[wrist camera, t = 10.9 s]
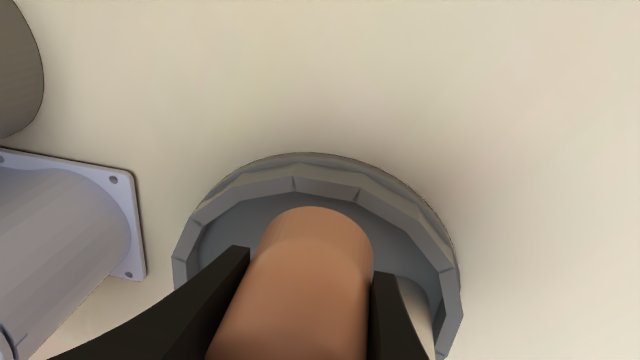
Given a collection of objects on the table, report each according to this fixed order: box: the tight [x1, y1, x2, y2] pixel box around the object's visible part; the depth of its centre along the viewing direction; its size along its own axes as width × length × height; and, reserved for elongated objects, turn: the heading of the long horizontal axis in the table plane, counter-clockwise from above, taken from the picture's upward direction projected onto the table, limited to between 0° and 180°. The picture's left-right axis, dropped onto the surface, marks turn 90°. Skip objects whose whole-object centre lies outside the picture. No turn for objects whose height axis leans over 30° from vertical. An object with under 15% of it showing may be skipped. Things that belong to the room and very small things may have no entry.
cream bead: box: [396, 276, 435, 360], centre depth 20 cm, size 4×4×5 cm
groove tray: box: [171, 153, 463, 360], centre depth 22 cm, size 16×16×2 cm
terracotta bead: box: [205, 206, 373, 360], centre depth 12 cm, size 4×4×5 cm
